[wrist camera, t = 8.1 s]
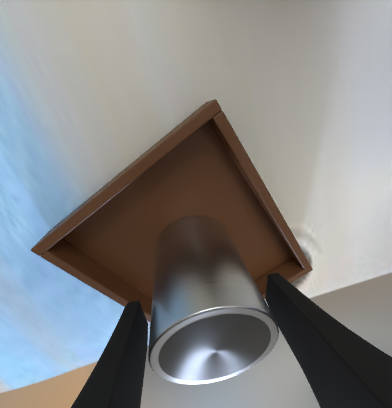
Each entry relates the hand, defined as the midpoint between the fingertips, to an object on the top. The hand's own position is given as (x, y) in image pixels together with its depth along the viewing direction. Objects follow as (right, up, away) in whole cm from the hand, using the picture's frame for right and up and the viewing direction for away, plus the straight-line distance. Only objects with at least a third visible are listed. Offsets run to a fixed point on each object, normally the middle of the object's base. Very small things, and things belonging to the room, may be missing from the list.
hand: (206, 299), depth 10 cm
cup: (-1, +2, +4) cm, 5 cm away
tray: (-1, +2, +4) cm, 5 cm away
